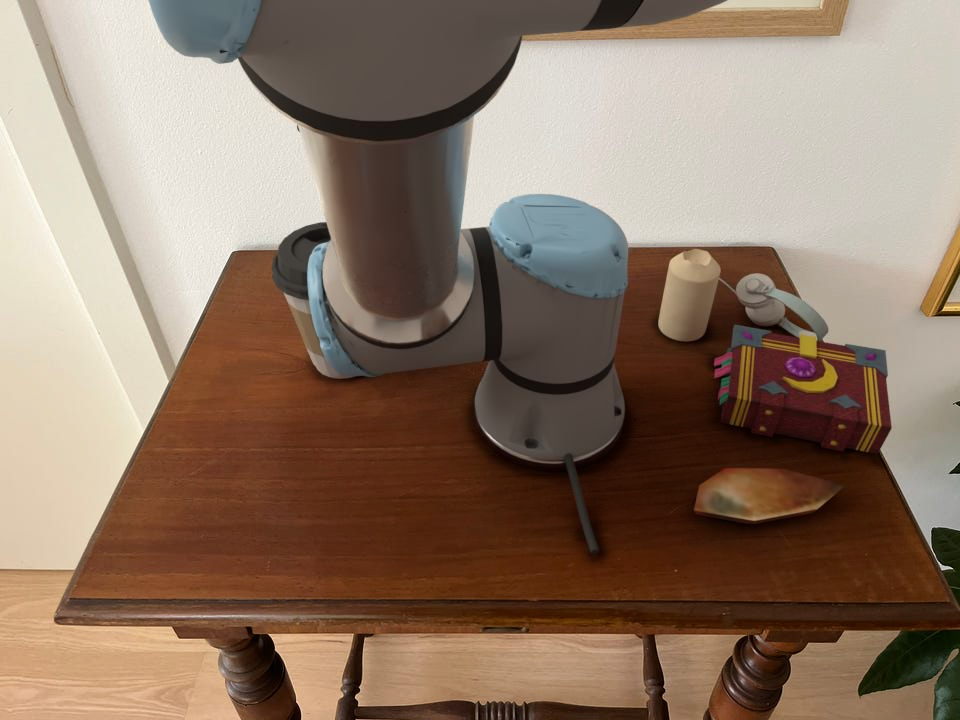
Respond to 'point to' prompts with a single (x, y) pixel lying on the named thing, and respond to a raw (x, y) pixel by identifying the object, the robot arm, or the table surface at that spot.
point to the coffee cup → (302, 286)
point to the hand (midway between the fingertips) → (389, 187)
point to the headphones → (776, 306)
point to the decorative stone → (761, 495)
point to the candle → (688, 295)
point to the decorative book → (805, 389)
